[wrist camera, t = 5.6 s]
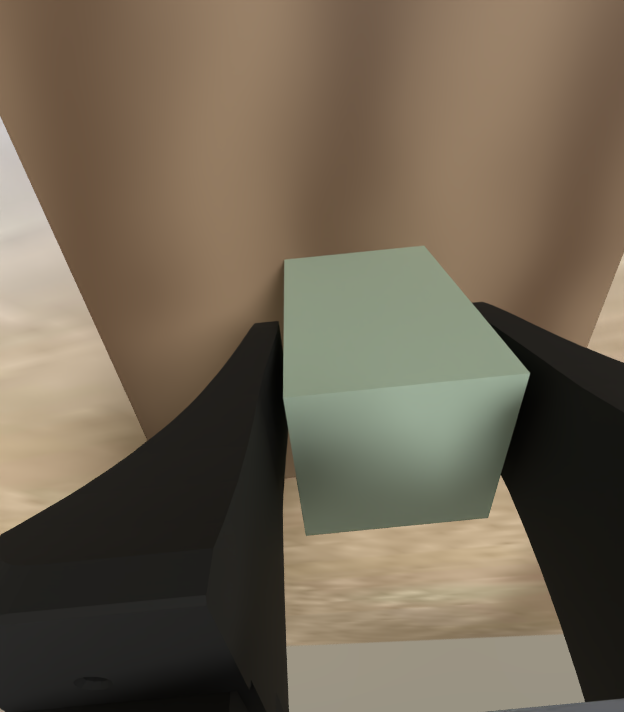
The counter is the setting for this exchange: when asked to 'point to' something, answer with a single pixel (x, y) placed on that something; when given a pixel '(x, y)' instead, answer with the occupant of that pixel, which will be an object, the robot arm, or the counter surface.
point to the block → (393, 392)
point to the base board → (313, 159)
